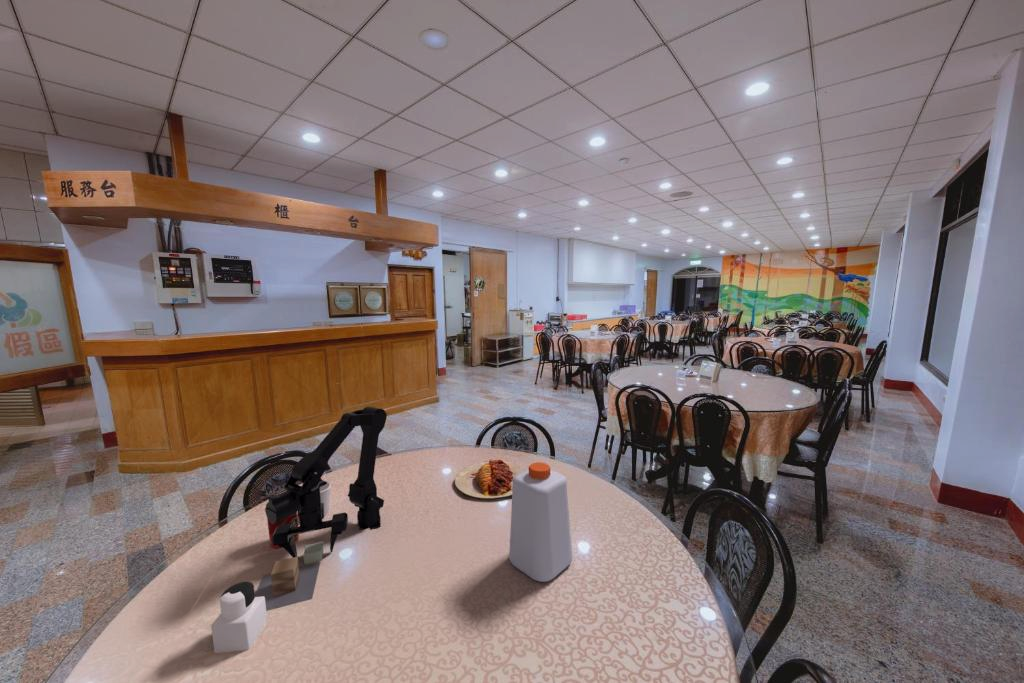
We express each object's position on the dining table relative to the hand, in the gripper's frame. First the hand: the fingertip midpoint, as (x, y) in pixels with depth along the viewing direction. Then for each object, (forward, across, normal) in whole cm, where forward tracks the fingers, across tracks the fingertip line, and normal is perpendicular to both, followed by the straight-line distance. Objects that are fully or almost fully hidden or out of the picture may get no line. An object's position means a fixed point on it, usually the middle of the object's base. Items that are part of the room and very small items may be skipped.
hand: (314, 555), depth 107 cm
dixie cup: (+1, +2, -25) cm, 25 cm away
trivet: (+1, +5, +10) cm, 11 cm away
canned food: (+1, +10, -12) cm, 16 cm away
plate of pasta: (+2, -64, -24) cm, 68 cm away
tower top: (-2, +5, +10) cm, 11 cm away
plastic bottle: (+1, -61, +25) cm, 66 cm away
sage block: (+1, 0, 0) cm, 1 cm away
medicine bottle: (+1, +11, +23) cm, 26 cm away
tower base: (0, +5, +10) cm, 11 cm away
